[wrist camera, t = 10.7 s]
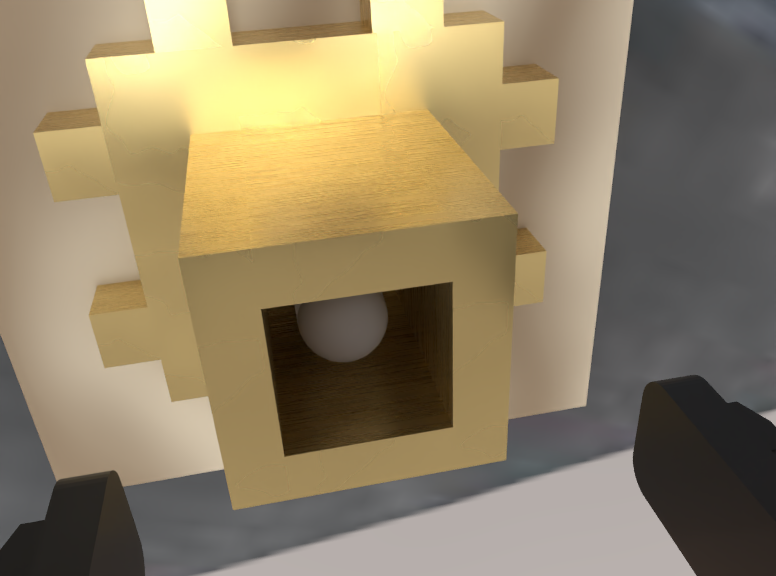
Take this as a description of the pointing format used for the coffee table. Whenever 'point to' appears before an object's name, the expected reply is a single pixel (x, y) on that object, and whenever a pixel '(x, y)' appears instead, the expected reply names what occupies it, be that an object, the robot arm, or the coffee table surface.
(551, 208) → the carrier plate
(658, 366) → the coffee table surface
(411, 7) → the gear
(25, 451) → the coffee table surface
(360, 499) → the coffee table surface
